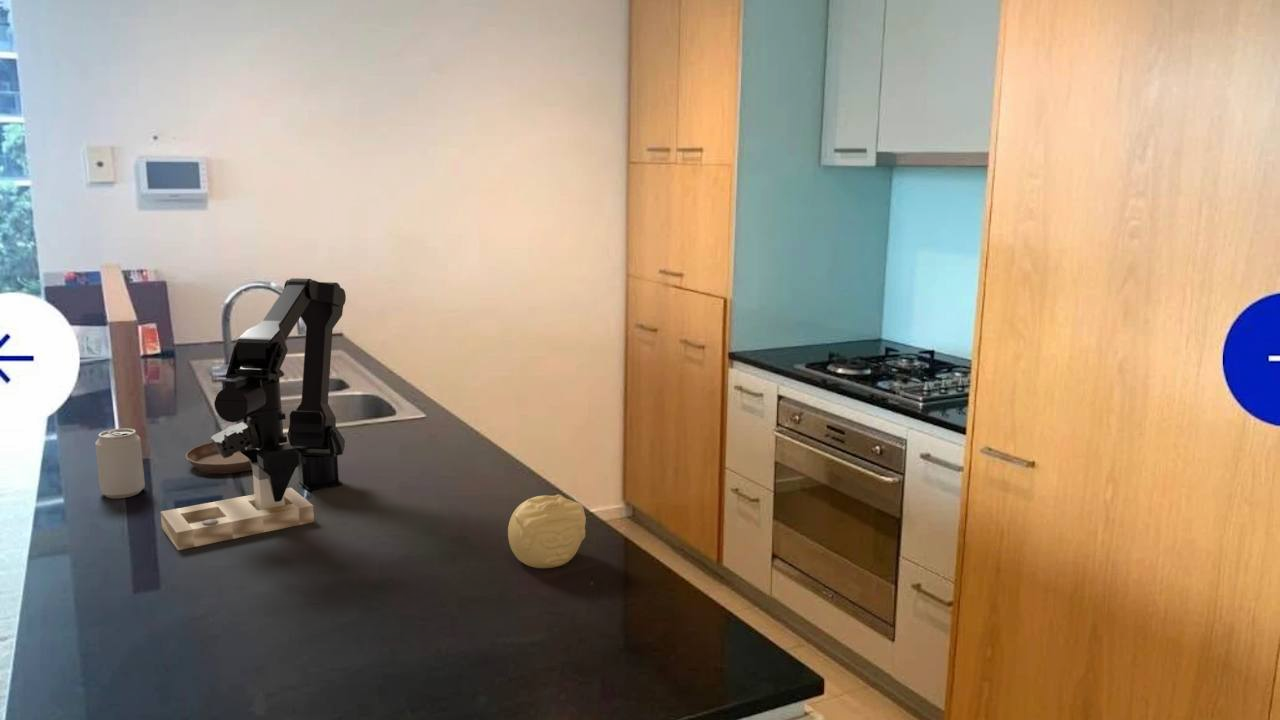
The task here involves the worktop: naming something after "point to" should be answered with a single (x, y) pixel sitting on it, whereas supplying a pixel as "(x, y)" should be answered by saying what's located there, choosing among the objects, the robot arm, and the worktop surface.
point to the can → (120, 463)
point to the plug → (263, 490)
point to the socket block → (232, 519)
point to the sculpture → (546, 531)
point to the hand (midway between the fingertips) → (269, 494)
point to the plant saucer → (217, 460)
